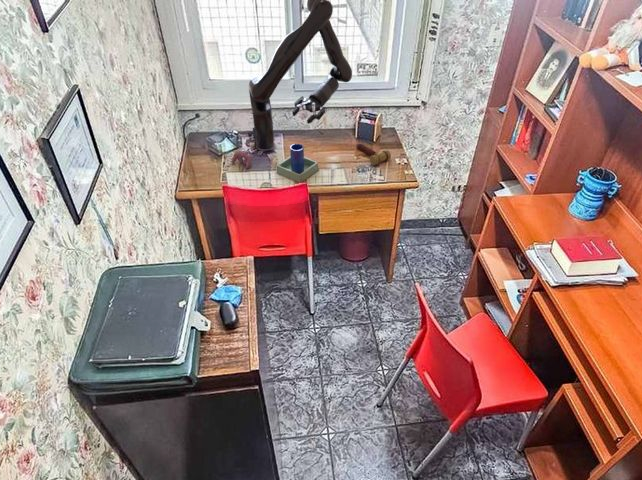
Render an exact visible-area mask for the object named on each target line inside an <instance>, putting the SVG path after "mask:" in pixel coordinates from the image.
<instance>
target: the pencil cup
mask: <svg viewBox="0 0 642 480" xmlns="http://www.w3.org/2000/svg"><path fill="white" fill-rule="evenodd" d="M304 149H305V148H304V145H302V144H300V143H293V144H291V145H289V153H290V155H289V156H291V171H293V172H295V173H298V174H301V173H302V172H304V157H305V150H304Z"/></svg>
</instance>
